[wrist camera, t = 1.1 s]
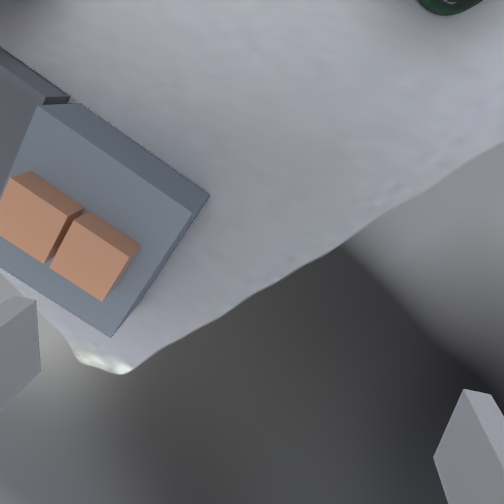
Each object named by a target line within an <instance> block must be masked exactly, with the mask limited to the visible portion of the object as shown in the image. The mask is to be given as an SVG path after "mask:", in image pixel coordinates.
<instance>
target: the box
mask: <svg viewBox="0 0 504 504" xmlns="http://www.w3.org/2000/svg"><path fill="white" fill-rule="evenodd" d="M69 97H70V96H69V95H67V94H66V93H65V92H63V91H62V90H60V89H59V88H58V87H56V86H55V85H53V84H52V83H50V82H49V81H48V80H46V79H45V78H43V77H42V76H40V75H39V74H38V73H36V72H35V71H33V70H32V69H31V68H29V67H28V66H26V65H25V64H23V63H22V62H21V61H19V60H18V59H16V58H15V57H14V56H12V55H11V54H9V53H8V52H6V51H5V50H4V49H2V48H1V47H0V195H1V193H2V190H3V188H4V185H5V183H6V180H7V178H8V176H9V173H10V171H11V168H12V166H13V163H14V161H15V159H16V156H17V154H18V151H19V149H20V146H21V144H22V142H23V139H24V137H25V134H26V132H27V129H28V127H29V125H30V122H31V120H32V117H33V115H34V113H35V110H36V108H37V105H54V104H67V102H68V99H69Z"/></svg>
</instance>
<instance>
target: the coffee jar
mask: <svg viewBox="0 0 504 504" xmlns="http://www.w3.org/2000/svg"><path fill="white" fill-rule="evenodd" d="M481 1H483V0H420V2H421V3H422V4H423V5H424V6H425V7H426V8H427V9H429V10H430V11H432V12H434V13H437V14H440V15H454V14H458V13H461V12H463V11H465V10H467V9H469V8H471V7H473V6H474V5H476V4H478V3H479V2H481Z"/></svg>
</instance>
